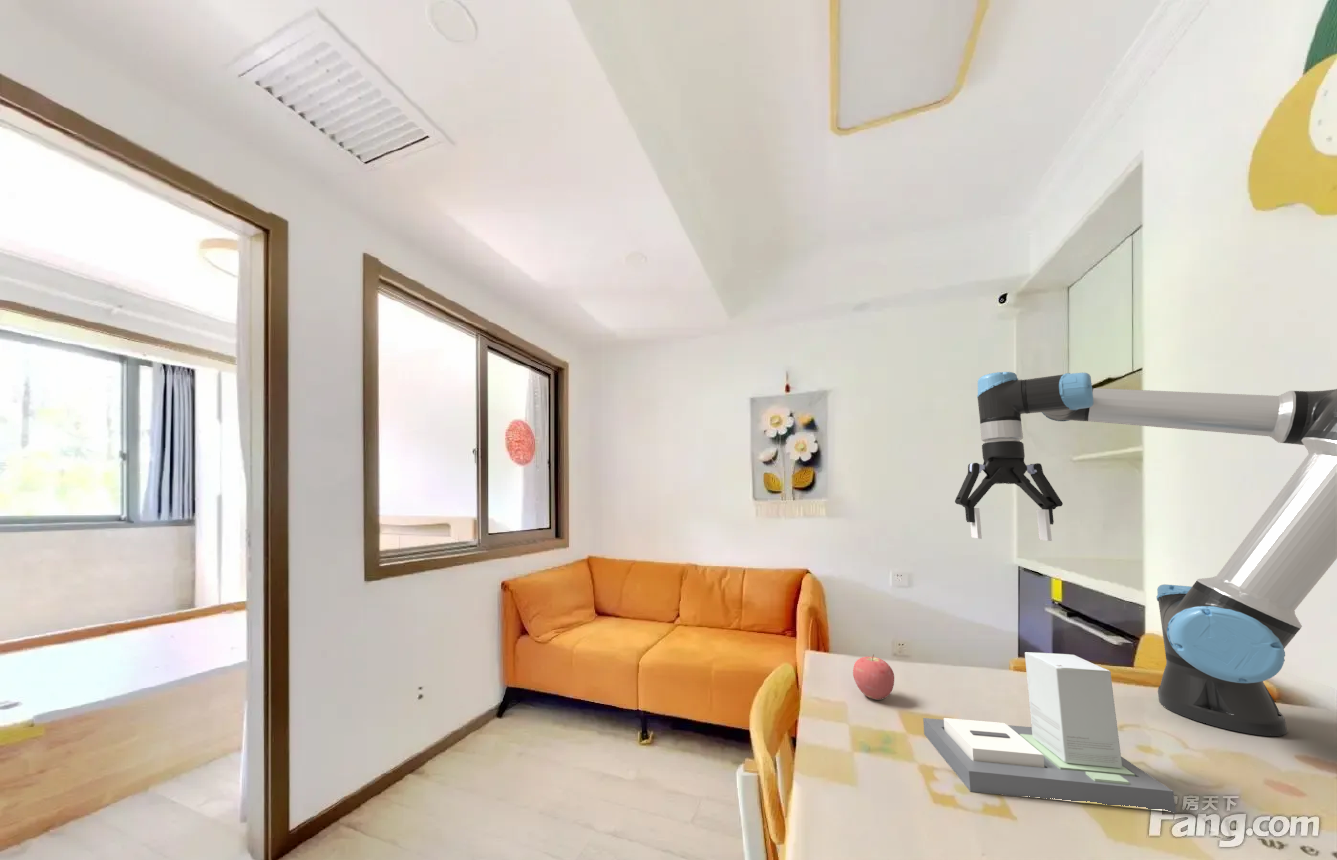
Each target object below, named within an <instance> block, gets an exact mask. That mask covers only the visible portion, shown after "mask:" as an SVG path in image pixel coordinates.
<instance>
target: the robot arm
mask: <svg viewBox="0 0 1337 860" xmlns="http://www.w3.org/2000/svg"><path fill="white" fill-rule="evenodd" d="M976 397H977V404H978V415H979V426H980V427H979V429H980V437H981V438H980V439H981V441H982V442H984V443H982V445H981V453H982V459H983V460H982V461H983V463H982V464H980V463H978V462H973V463H972V462H971V463H969V464H968V465H967V473H966V477H965V478H964V480H963V482H962V484H961V487H960V489H959V492H958V494H957V496H956V497H955V500H954V503H955V504H956V505H960V506H962V507H963V508H964V511H965V520H966V523H970V536H971V538H972V539H973V538H974V539H979V540H980V539H981V540H982V536H983V535H982V526H981V513H980V511H981V510H980V508H979V507H976V506H977V504H978V503H979V502H980V501H981V500H982V499H983V498H984V496H985V495H986V494H987V492H989V491H990V489H991V488H992V487H993V486H994V485H1001V484H1003V485H1004V484H1006V485H1016V486H1018V487H1019V488H1020V489H1022V491H1023V492H1024V493H1025V494H1026V495H1027V496H1028V497H1029V498H1030V499H1031V500H1033V502H1034V503H1035V504H1036V505H1037V506H1038V507H1039V508H1040V509H1039V508H1037V509H1036V519H1037V527H1038V528H1037V529H1038V538H1039V540H1041V541H1047V542H1052V541H1053V540H1052V531H1051V525H1054V523H1055V519H1054V514H1053V511H1054V510H1055V509H1057V508H1058V507H1062V506H1063V502H1062V500H1061V498H1060V497H1059V495H1058V494H1057V492H1056V490H1055V489H1054V488H1053V486H1052V484H1051V483H1050V481H1049V480H1048V478H1047V477H1046V475H1045V474H1044V471H1043V466H1042V464H1041V463H1038V462H1037V463H1030V464H1026V462H1025V446H1024V445H1025V444H1024V443H1023V442H1022V440H1024V436H1023V435H1024V434H1023V433H1024V432H1023V425H1022V415H1024V414H1034V413H1041V414H1043V415H1044V416H1045V417H1046V418H1047V419H1049V420H1052V421H1056V422H1068V421H1076V422H1078V421H1079V422H1091V423H1093V422H1094V423H1103V424H1104V423H1105V424H1115V425H1116V424H1118V425H1129V426H1139V427H1140V426H1141V427H1142V426H1143V427H1151V428H1152V427H1154V428H1165V429H1174V430H1175V429H1178V430H1190V431H1201V432H1202V431H1203V432H1211V433H1212V432H1213V433H1225V434H1236V435H1247V436H1248V435H1249V436H1261V437H1269V438H1271V439H1273V440H1274V441H1276V443H1279V444H1289V445H1297V446H1298V445H1299V446H1300V445H1301V446H1304V447H1305V448H1306V451H1307V453H1308V454H1307V455H1306V456H1305V458H1304V459H1303V461H1302V462H1301V463H1300V465H1299V466H1298V467H1297V469H1296V470H1295V471H1294V473H1293V474H1292V475H1291V477H1290V478H1289V480H1288V481H1287V482H1286V483H1285V485H1284V486H1283V487H1282V489H1280V492H1279V493H1278V494H1277V495H1276V497H1275V498H1274V499H1273V500H1272V501H1271V503H1270V505H1269V506H1268V507H1267V509H1266V510H1265V511H1264V512H1263V514H1262V515H1261V516H1260V518H1259V519H1258V520H1257V521H1256V523H1255V524H1254V526H1253V527H1252V528H1251V530H1250V531H1249V532H1248V534H1247V535H1246V537H1245V538H1243V540H1242V542H1241V543H1239V545H1238V547H1237V548H1236V550H1235V551H1234V552H1233V553H1232V555H1231V556H1230V558H1229V559H1228V560H1227V562H1225V564H1224V566H1223V567H1222V568H1221V570H1219V572H1218V573H1217V575H1216V576H1215V575H1214V576H1213V577H1212V576H1211V577H1204V578H1197V579H1196V581H1195V582H1194V584H1193V585H1192V586H1187V585H1180V584H1179V585H1176V584H1175V585H1174V584H1165V583H1164V584H1161V585H1159V586H1157V595H1156V601H1157V602H1158V608H1159V615H1160V616H1159V617H1160V623H1161V624H1160V625H1161V631H1162V638H1163V644H1164V645H1163V646H1164V653H1165V661H1166V665H1165V667H1164V670H1163V674H1162V677H1161V681H1160V685H1159V686H1158V688H1157V694H1158V695H1157V696H1158V702H1159V704H1160V703H1161V704H1162V705H1163V707H1164V706H1165V707H1166V709H1167V708H1168V709H1167V710H1169V711H1171V712H1173V713H1175V714H1178V715H1180V716H1182V717H1185V718H1187V719H1191V720H1193V721H1196V722H1199V723H1202V722H1203V724H1205V723H1206V725H1210V726H1214V727H1217V728H1220V729H1223V730H1224V729H1225V730H1230V731H1234V732H1238V733H1243V734H1249V735H1257V736H1265V737H1266V736H1268V737H1280V736H1285V735H1287V733H1288V730H1287V724H1286V720H1285V719H1286V718H1285V717H1284V715H1283V713H1281V712H1280V711H1279V709H1278V707H1277V704H1276V702H1275V700H1274V699H1273V697H1272V695H1271V693H1270V692H1269V690H1268V688H1267V687H1266V685H1265V683H1264V681H1267V680H1269V679H1272V678H1274V677H1275V676H1276V675H1277V674H1279V672H1280V671H1281V670H1282V668H1283V666H1284V663H1285V657H1286V651H1285V648H1286V647H1288V645H1289V643H1290V642H1291V641H1292V640H1293V639H1294V637H1295V636H1296V635H1297V633H1299V631H1300V630H1301V629H1302V627H1303V626H1302V623H1301V622H1300V621H1299V618H1298V616H1297V615H1296V612H1295V611H1296V609H1297V608H1298V607H1299V605H1300V604H1302V602H1303V601H1304V600H1305V599H1306V597H1307V596H1308V594H1309V593H1310V592H1311V591H1312V590H1313V589H1314V588H1315V586H1316V585H1317V584H1318V583H1319V581H1320V580H1321V579H1322V577H1324V575H1325V574H1326V572H1328V570H1329V569H1330V568H1331V567H1332V565H1333V564H1335V561H1336V560H1337V388H1335V389H1326V390H1305V391H1304V390H1288V391H1286V392H1283V393H1281V394H1280V395H1265V394H1245V393H1243V394H1242V393H1240V394H1239V393H1222V392H1219V393H1218V392H1217V393H1216V392H1199V391H1198V392H1195V391H1194V392H1193V391H1169V390H1150V389H1149V390H1146V389H1144V390H1143V389H1125V388H1124V389H1122V388H1100V387H1096V388H1094V387H1093V384H1092V377H1091V375H1090V374H1089V373H1088V372H1073V373H1070V372H1067V373H1064V374H1057V375H1051V376H1042V377H1035V378H1029V379H1028V378H1027V379H1019V377H1018V375H1017V374H1016V373H1015V372H1012V371H1001V372H1000V371H997V372H992V373H987V374H984V375H982V376H981V377H979V378H978V380H977V395H976ZM982 472H983V473H984V474H985V477H984V478H982V480H981V483H979V485H978V486H977V487H976V488H975V490H974V491H973V492H972V490H973V488H974V487H975V484H976V482H977V479H978V477H979V475H980V474H981V473H982ZM1026 472H1027V473H1028V474H1029V475H1030V477H1031V478H1032V480H1033V482H1034V483H1035V485H1036V486H1037V488H1038V489H1039V490H1038V489H1037V488H1036V487H1035V486H1034V484H1033V483H1031V480H1030V479H1029V478H1028V477H1027V476H1026V475H1025V474H1026ZM1161 704H1160V705H1161ZM1162 705H1161V706H1162ZM1165 707H1164V708H1165Z"/></svg>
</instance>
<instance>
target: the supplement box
mask: <svg viewBox="0 0 1337 860" xmlns="http://www.w3.org/2000/svg"><path fill="white" fill-rule="evenodd" d="M1024 659H1025V661H1024V662H1025V669H1026V670H1025V671H1026V679H1027V680H1026V681H1027V689H1028V690H1027V691H1028V692H1027V693H1028V700H1029V710H1030V723H1031V727H1032V736H1033V738H1034V739H1036V740H1037V741H1038V742H1040V743H1041V744H1042V745H1044V746H1045V747H1046V748H1047V749H1049V750H1050V751H1051V752H1053V753H1054V754H1055V755H1056V756H1058V757H1059V758H1060V759H1062V760H1063V761H1064V762H1066V763H1073V764H1082V765H1092V766H1102V767H1112V768H1122V761H1121V757H1122V753H1121V746H1120V744H1121V743H1120V739H1119V729H1118V723H1117V722H1118V721H1117V714H1116V706H1115V697H1114V690H1113V682H1112V672H1111V671H1110V670H1109V669H1106V668H1105V667H1101V666H1100V665H1097V664H1095V663H1093V662H1090V661H1089V660H1086V659H1084V658H1082V657H1079V656H1078V655H1075V654H1069V653H1053V652H1049V653H1048V652H1034V651H1033V652H1029V651H1028V652H1027V651H1026V652H1024Z"/></svg>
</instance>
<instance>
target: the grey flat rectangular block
mask: <svg viewBox="0 0 1337 860" xmlns="http://www.w3.org/2000/svg"><path fill="white" fill-rule="evenodd" d="M922 719H923V734H924V736H925V737H926V738H927V740H928V741H929V742H930V744H932V745H933V747H934V748H935V750H936V751H937V752H938V754H939V755H940V756H941V757H942V758H943V760H944V761H945V762H946V763H947V764H948V766H949V767H950V768H951V770H952V771H953V772H954V773H955V774H956V776H958V778H959V779H960V781H961V782H962V783H963V784H964V786H965V787H966V788H967V789H968V790H969V791H970V793H971V792H973V793H980V794H981V793H982V794H991V795H992V794H993V795H999V794H1001V795H1000V796H1009V797H1010V796H1011V797H1018V796H1028V797H1029V796H1030V797H1040V798H1045V799H1044V800H1047V799H1050V798H1051V799H1052V798H1053V799H1054V798H1055V799H1062V800H1071V801H1086V802H1087V801H1090V802H1097V803H1102V804H1105V805H1106V804H1107V805H1121V806H1122V805H1123V806H1124V805H1125V806H1129V805H1130V806H1136V807H1137V806H1138V807H1146V808H1148V809H1165V810H1168V811H1171V812H1174V813H1173V814H1177V808H1176V807H1177V806H1176V801H1175V793H1174V790H1172V789H1171V788H1169V787H1168V786H1167V785H1165V784H1164V783H1162V782H1160V781H1158V779H1156V778H1154V777H1153V776H1151V775H1150V774H1149V773H1146V772H1145V771H1144V770H1142V769H1141V768H1140V767H1138V766H1136V765H1135V764H1134V763H1132V762H1130V761H1129V760H1127V759H1126V758H1124V757H1122V756H1121V761H1122V766H1123V767H1125V768H1126V769H1128V770H1129V771H1131V772H1132V773H1134V774H1135V776H1124V775H1117V774H1107V773H1096V772H1086V771H1085V772H1083V771H1072V770H1062V769H1059V768H1057V767H1056V766H1055V765H1054V764H1053V763H1051V762H1050V761H1049V760H1048V759H1047V758H1045V757H1044V756H1043V754H1042V753H1040V752H1039V751H1038V750H1037V749H1036V748H1034V747H1033V746H1032V745H1031V744H1030V743H1028V742H1027V741H1026V740H1025V739H1024V738H1022V737H1021V736H1020V734H1028V735H1032V726H1022V725H1013V724H1012V725H1009V724H1007V723H1006V722H996V721H986V720H985V721H984V720H975V719H974V720H973V719H972V720H971V719H961V718H951V717H949V718H948V717H943V719H939V718H927V717H923V718H922ZM1002 794H1003V795H1002ZM1028 797H1027V798H1028ZM1046 798H1047V799H1046Z"/></svg>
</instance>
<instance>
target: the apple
mask: <svg viewBox="0 0 1337 860" xmlns="http://www.w3.org/2000/svg"><path fill="white" fill-rule="evenodd" d="M852 669H853V670H852V675H853V679H854V682H855V684H856V686H857V687H858V689H859V690H860V692H861V693H862V694H863V695H864V696H865V697H867V698H869V699H873V700H877V701H878V700H879V701H880V700H884V699H886V698H887V697H889V695H890V694H891V693H892V691H893V689H894V685H895V674H894V671H893V669H892V667H891V666H890V665H889V663H887V662H886V661H885V660H884V659H882V658H879V657H875V654H872V656H862V657H860V658H858V659H856V661H855V662H854V664H853V668H852Z"/></svg>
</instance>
